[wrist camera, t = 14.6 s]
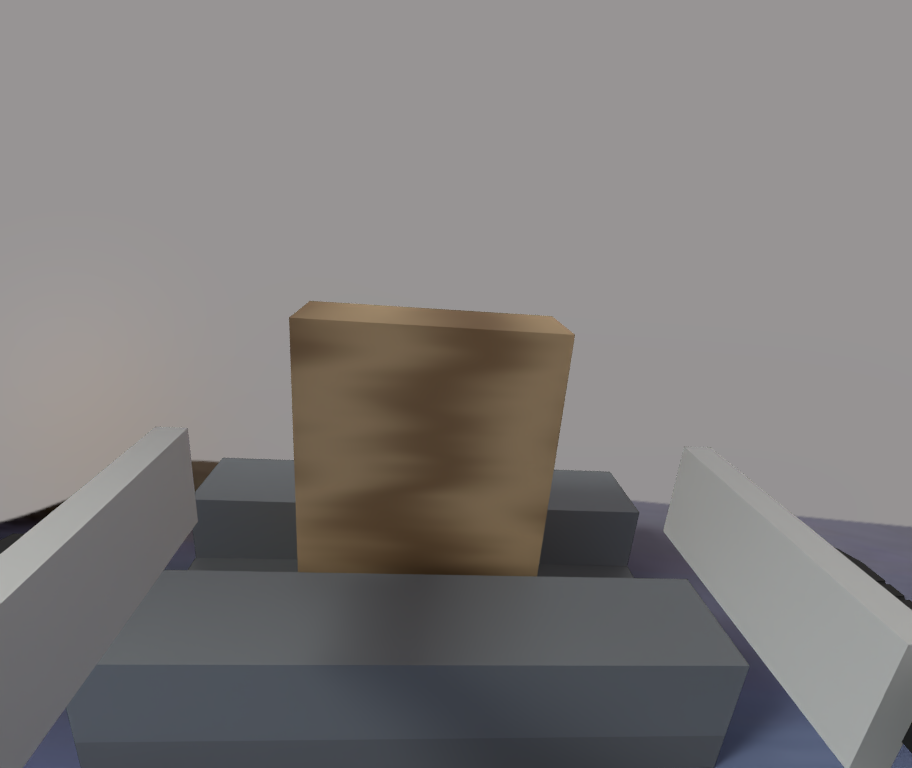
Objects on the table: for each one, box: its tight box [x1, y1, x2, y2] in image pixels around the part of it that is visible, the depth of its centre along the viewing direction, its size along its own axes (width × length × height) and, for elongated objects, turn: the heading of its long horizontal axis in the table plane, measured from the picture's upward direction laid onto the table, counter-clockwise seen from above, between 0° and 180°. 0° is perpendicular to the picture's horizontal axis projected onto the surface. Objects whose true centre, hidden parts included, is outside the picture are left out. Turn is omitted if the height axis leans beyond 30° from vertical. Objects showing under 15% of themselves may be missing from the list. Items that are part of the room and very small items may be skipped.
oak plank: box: [289, 301, 575, 576], centre depth 19 cm, size 9×3×12 cm, turn 94°
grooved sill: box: [66, 458, 749, 768], centre depth 21 cm, size 20×12×4 cm, turn 94°
